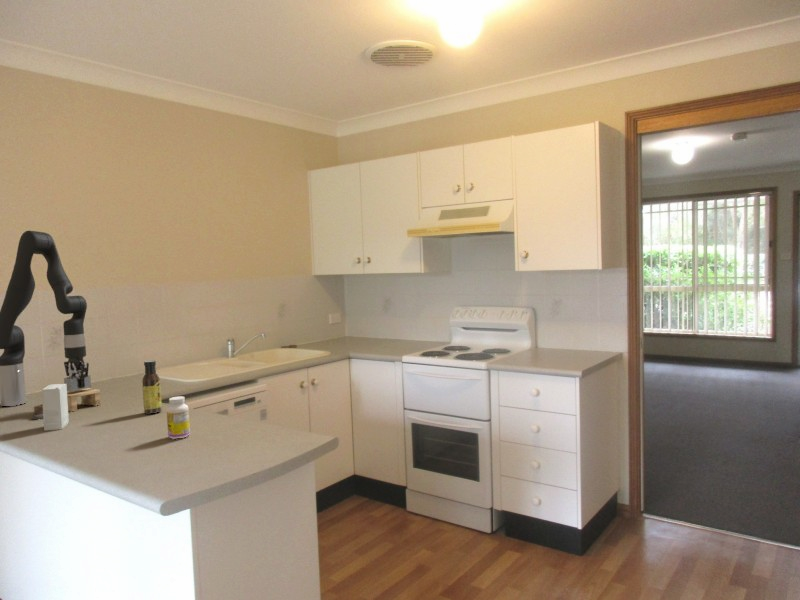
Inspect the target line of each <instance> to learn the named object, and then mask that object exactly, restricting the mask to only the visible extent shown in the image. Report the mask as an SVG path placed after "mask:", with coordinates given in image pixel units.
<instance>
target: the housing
mask: <svg viewBox="0 0 800 600" xmlns="http://www.w3.org/2000/svg"><path fill="white" fill-rule="evenodd" d="M84 381H85V387H84V388H79V386H78V377H77V376H73V377H69V376H66V377H64V378H63V382H64V383H63V384H67V392H68V391H76V390H81V389H86V388H91V389H92V382H91V375H90V374H88V377H85V378H84Z"/></svg>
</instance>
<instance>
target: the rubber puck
mask: <svg viewBox="0 0 800 600" xmlns="http://www.w3.org/2000/svg"><path fill="white" fill-rule="evenodd" d="M38 419H40V420H44V419H43V414H37V415H32V420H33V421H39V420H38Z"/></svg>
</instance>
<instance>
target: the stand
mask: <svg viewBox="0 0 800 600" xmlns="http://www.w3.org/2000/svg"><path fill="white" fill-rule="evenodd" d="M100 395H101V389H96V388H92V387H91V388H86V389H81V390H76V391H67V400H68V412H69V411H71V413H73V412H72V411H74V412H77V411H78V403H77V401H78V400H77V398H78V397H80V399H81V405H84V404H87V405H86V406H90V405H94V406H93V407H98V406H97V405H100V406H101V396H100Z"/></svg>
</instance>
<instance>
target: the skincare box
mask: <svg viewBox="0 0 800 600" xmlns="http://www.w3.org/2000/svg"><path fill="white" fill-rule="evenodd" d="M67 392H68V391H67V384H64V383H57V384H55V383H53V384H48V385H47V386H46V387H45V386H44V388H42V389H41V396H42V399H41V400H42V404H43V418H44V419H43V430H44V431H56V430H58V429H59V430H63V429H64V428H65V427H66V426H67V425H68V424H69V411H68V400H67Z"/></svg>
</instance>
